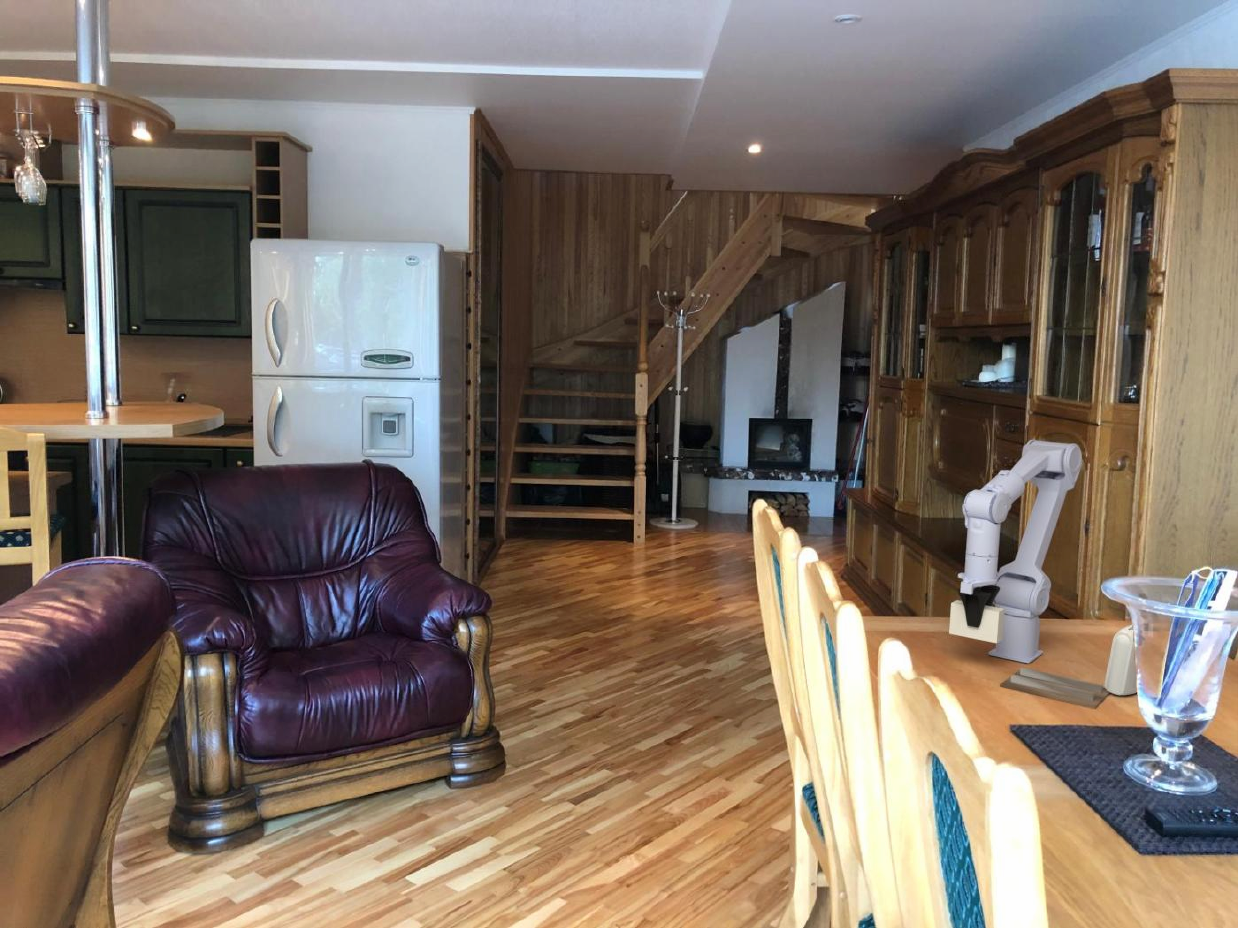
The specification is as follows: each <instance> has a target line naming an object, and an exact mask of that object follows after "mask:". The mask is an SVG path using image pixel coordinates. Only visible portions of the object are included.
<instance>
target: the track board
mask: <svg viewBox="0 0 1238 928" xmlns="http://www.w3.org/2000/svg"><path fill="white" fill-rule="evenodd" d="M999 687H1001V688H1005V689H1009V690H1012V691H1018V692H1022V693H1027V694H1030V695H1034V696H1038V697H1043V698H1048V699H1052V700H1056V701H1061V702H1064V703H1069V704H1072V705H1077V706H1081V707H1086V708H1089V709H1093V710H1095V709H1097V707H1098V706H1100V704H1101V703H1103V701H1104V700H1105V699H1106V698H1107V697H1108V696H1109V695H1110V694H1111V693H1110V692H1108V691H1107V690H1106V688H1105V687H1104V685H1103V684H1100V683H1095V682H1090V681H1086V680H1082V679H1076V678H1073V677H1069V676H1063V675H1058V674H1054V673H1049V672H1046V671H1041V670H1037V669H1032V668H1027V667H1020V669H1019V670H1017V671H1016V672H1015V673H1012V674H1011V675H1010V676H1009V677H1007V678H1006V679H1005V680H1004V681H1003V682H1000V684H999Z"/></svg>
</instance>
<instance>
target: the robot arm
mask: <svg viewBox="0 0 1238 928" xmlns="http://www.w3.org/2000/svg"><path fill="white" fill-rule="evenodd" d="M1082 466H1083V456H1082V450H1081V448H1080V446H1079V445H1078V444H1077V443H1066V442H1065V443H1062V442H1052V441H1045V440H1043V441H1042V440H1037V439H1030V440H1029V441H1027V443H1026V444H1024V445H1023V447H1022V452H1021V458H1020V459H1019V460H1018V461H1017V462H1016V463H1015V465H1014V466H1013V467H1012V468H1011V469H1010V470H1007V469H1006V470H1005V469H1004V470H1002V469H1001V470H1000V471H999V472H998V474H996V475H995V476H994V477H993V478H992V479H991V480H990V481H988V482H987V483H986V484H985V485H984V486H983V487H982V488H981V489H973V490H972V491H970V492H968V493H967V494H966V496H965V498H964V500H963V504H962V513H963V517H964V526H965V528H966V529H967V531H966V533H967V535H966V548H965V559H964V560H965V562H964V572H959V573H958V574H957V578H959V579H961V580H962V581H961V582H960V587H958V589H957V594H958V596H959V597H960V601H962V602H963V605H964V610H965V615H966V621H967V625H968V626H972V627H977V628H978V627H979V626H980V624H981V620H982V615H983V611H984V607H985V605H986V606H991V607H993V605H994V607H997V608H1002V609H1004V622H1003V635H1002V640H1001V641H1000V642H998V643H995V648H992V649H991V650H990V651H989V652H988V654H987V655H988V656H992V657H996V658H997V657H998V658H1001V659H1006V660H1011V661H1014V662H1015V661H1016V662H1019V663H1024V664H1030V663H1032V662H1033V661H1034V660H1036V659H1038V657H1040V656H1041V655H1043V653H1044V651H1043V650H1041V649H1040V650H1039V645H1040V643H1039V642H1040V633H1041V632H1040V631H1041V619H1040V618H1039V616H1040V615H1042V614H1043V613H1044V612H1045V611H1046V609H1048V605H1049V601H1050V591H1051V588H1052V582H1051V579H1050V578H1049V576H1048V575H1046V572H1045V571H1043V569H1042V567H1043V566H1044V565H1043V564H1044V562H1045V559H1046V556H1047V552H1048V550H1049V547H1050V544H1051V541H1052V537H1053V535H1054V531H1055V530H1056V529H1055V528H1056V525H1057V523H1058V520H1059V516H1060V514H1061V510H1062V507H1063V505H1064V501H1065V498H1066V495H1067V494H1068V492H1069V491H1071V490H1072V489H1074V488H1075V485H1076V482H1077V481H1078V477H1079V474H1080V471H1081V469H1082ZM1027 482H1030V483H1031V484H1032V485H1034V486H1035V487H1037V489H1038V492H1037V495H1036V496H1035V497H1036V498H1035V500H1034V504H1033V506H1032V509H1031V513H1030V514H1029V519H1028V521H1027V524H1026V527H1025V531H1024V533H1023V537H1022V540H1021V542H1020V545H1019V548H1018V549H1017V550H1018V551H1017V553H1016V556H1015V560H1013V561H1012V562H1010V563H1007V564H1005V565H1002V566H1001V567H999V570H998V562H999V548H1000V536H1001V535H1000V534H1001V525H1002V524H1001V523H1002V522H1005V521H1006V519H1007V517H1008V514H1009V511H1010V510H1011V508H1012V504H1013V503H1014V502H1015V501H1016V500H1017V499H1018V498H1020V497H1021V496H1022V495H1023V494H1024V493H1025V492H1024V491H1025V488H1026V487H1025V484H1026V483H1027Z"/></svg>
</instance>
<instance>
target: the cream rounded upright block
mask: <svg viewBox="0 0 1238 928" xmlns="http://www.w3.org/2000/svg"><path fill="white" fill-rule="evenodd" d="M1132 625H1133V624H1129V625H1126V626H1125V627H1122V628H1121V629H1120V630H1118V631H1117V632H1116V633H1115V635H1114V636H1113V638H1112V644H1111V648H1110V654H1109V657H1108V663H1107V669H1106V674H1105V680H1104V685H1103V687H1105V688H1106V690H1107V691H1108V692H1110V694H1114V695H1117V696H1127V695H1132V694H1136V673H1135V661H1134V642H1133V630H1132Z"/></svg>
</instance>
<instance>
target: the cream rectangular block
mask: <svg viewBox="0 0 1238 928" xmlns="http://www.w3.org/2000/svg"><path fill="white" fill-rule="evenodd" d="M949 616H950V617H949V627H948V628H949V630H948V633H949V635H955V636H959V637H964V638H969V639H974V640H979V641H983V642H989V643H993V644H996V643H998V642H1000V641H1001V640H1002V635H1003V622H1004V609H1002V608H997V607H995V606H986V605H985V607H984V611H983V615H982V620H981V624H980V626H979V627H978V628H977V627H972V626H968V625H967V621H966V615H965V610H964V605H963V602H962V600H960V599H959V600H958V599H956V600H953V602H951V603H950V615H949Z"/></svg>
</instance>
